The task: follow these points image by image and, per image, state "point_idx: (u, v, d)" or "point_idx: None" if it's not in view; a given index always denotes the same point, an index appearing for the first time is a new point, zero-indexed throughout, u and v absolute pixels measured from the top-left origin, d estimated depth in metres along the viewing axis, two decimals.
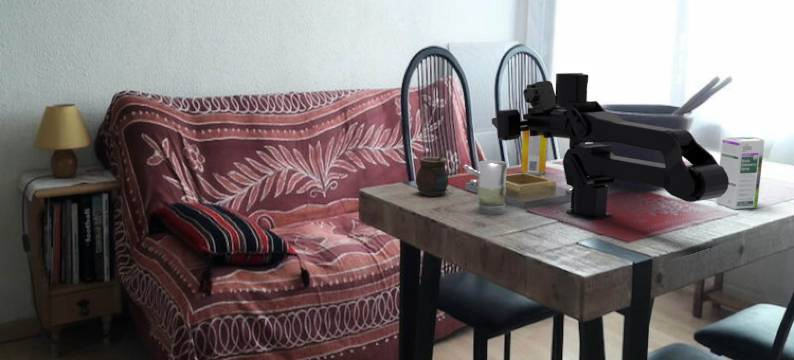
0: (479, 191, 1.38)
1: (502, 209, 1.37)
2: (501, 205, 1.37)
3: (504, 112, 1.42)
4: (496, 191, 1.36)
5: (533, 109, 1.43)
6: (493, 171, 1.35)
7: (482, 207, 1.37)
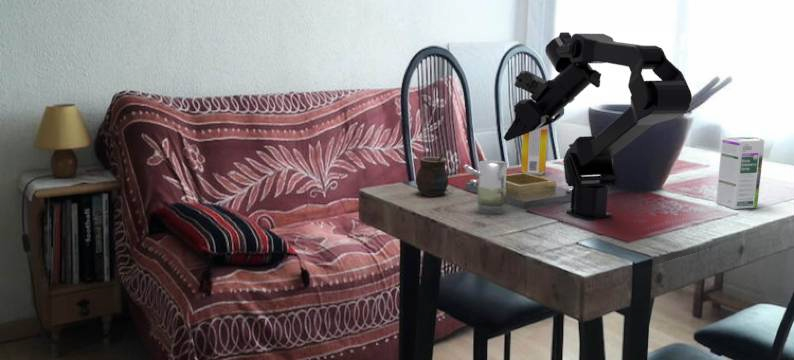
0: (479, 191, 1.38)
1: (502, 209, 1.37)
2: (501, 205, 1.37)
3: (521, 101, 1.36)
4: (496, 191, 1.36)
5: (537, 91, 1.40)
6: (493, 171, 1.35)
7: (482, 207, 1.37)
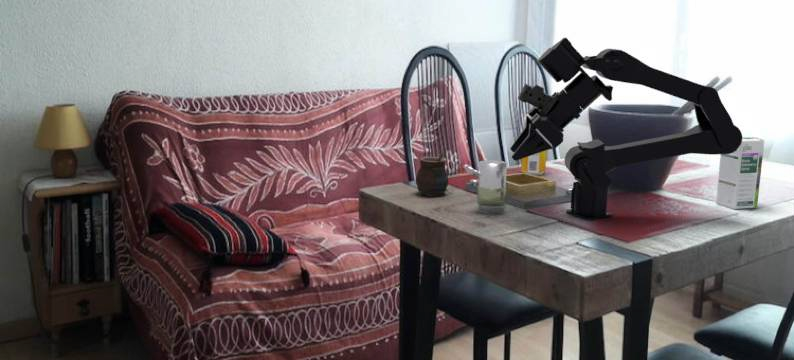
0: (479, 191, 1.38)
1: (502, 209, 1.37)
2: (501, 205, 1.37)
3: (541, 118, 1.25)
4: (496, 191, 1.36)
5: (546, 106, 1.31)
6: (493, 171, 1.35)
7: (482, 207, 1.37)
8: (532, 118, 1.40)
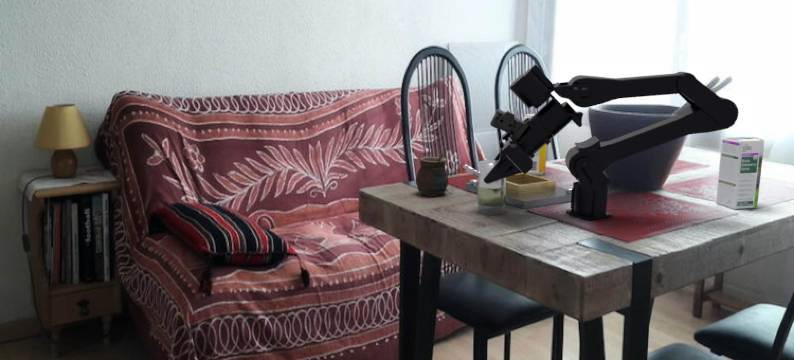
0: (479, 191, 1.38)
1: (502, 209, 1.37)
2: (501, 205, 1.37)
3: (510, 145, 1.27)
4: (496, 190, 1.36)
5: (517, 132, 1.32)
6: None
7: (482, 207, 1.37)
8: (505, 143, 1.40)
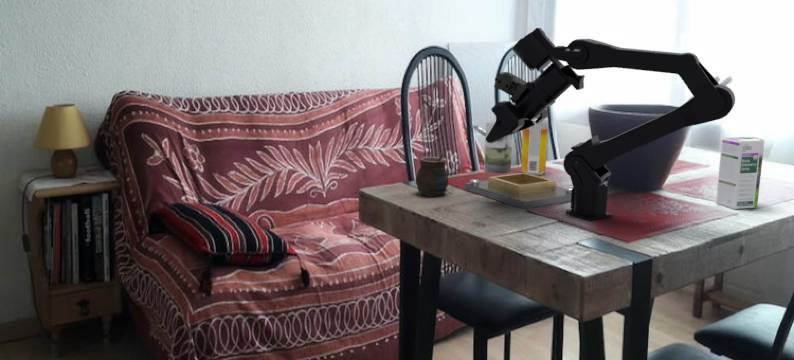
0: None
1: (505, 169, 1.42)
2: (504, 165, 1.42)
3: (498, 103, 1.33)
4: (497, 150, 1.41)
5: (516, 93, 1.37)
6: None
7: (486, 166, 1.44)
8: None
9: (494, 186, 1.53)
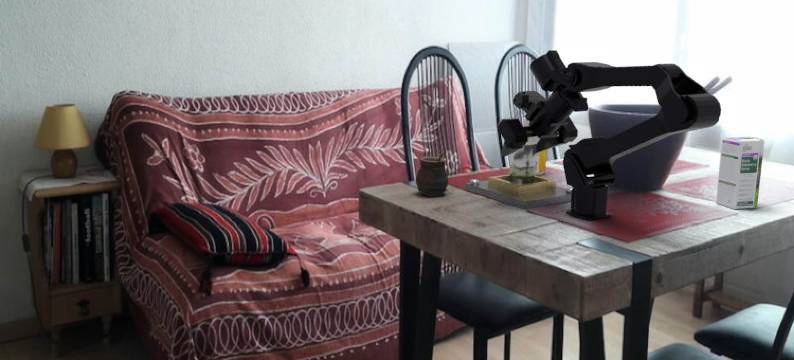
0: None
1: None
2: (522, 183, 1.50)
3: (502, 120, 1.43)
4: (516, 168, 1.50)
5: (529, 111, 1.44)
6: None
7: None
8: None
9: (494, 186, 1.53)
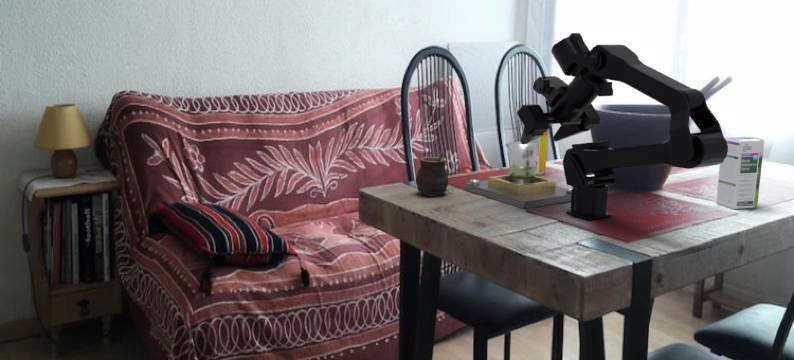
0: None
1: None
2: (522, 183, 1.50)
3: (522, 106, 1.37)
4: (516, 168, 1.50)
5: (550, 97, 1.39)
6: (514, 149, 1.50)
7: None
8: None
9: (494, 186, 1.53)
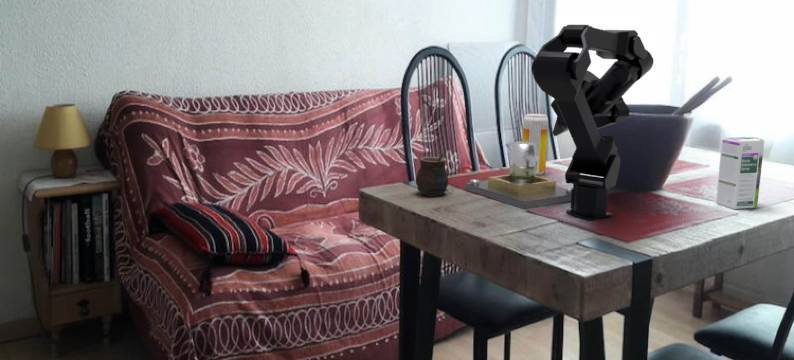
0: None
1: None
2: (522, 183, 1.50)
3: None
4: (516, 168, 1.50)
5: (582, 90, 1.44)
6: (514, 149, 1.50)
7: None
8: None
9: (494, 186, 1.53)
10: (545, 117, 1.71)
